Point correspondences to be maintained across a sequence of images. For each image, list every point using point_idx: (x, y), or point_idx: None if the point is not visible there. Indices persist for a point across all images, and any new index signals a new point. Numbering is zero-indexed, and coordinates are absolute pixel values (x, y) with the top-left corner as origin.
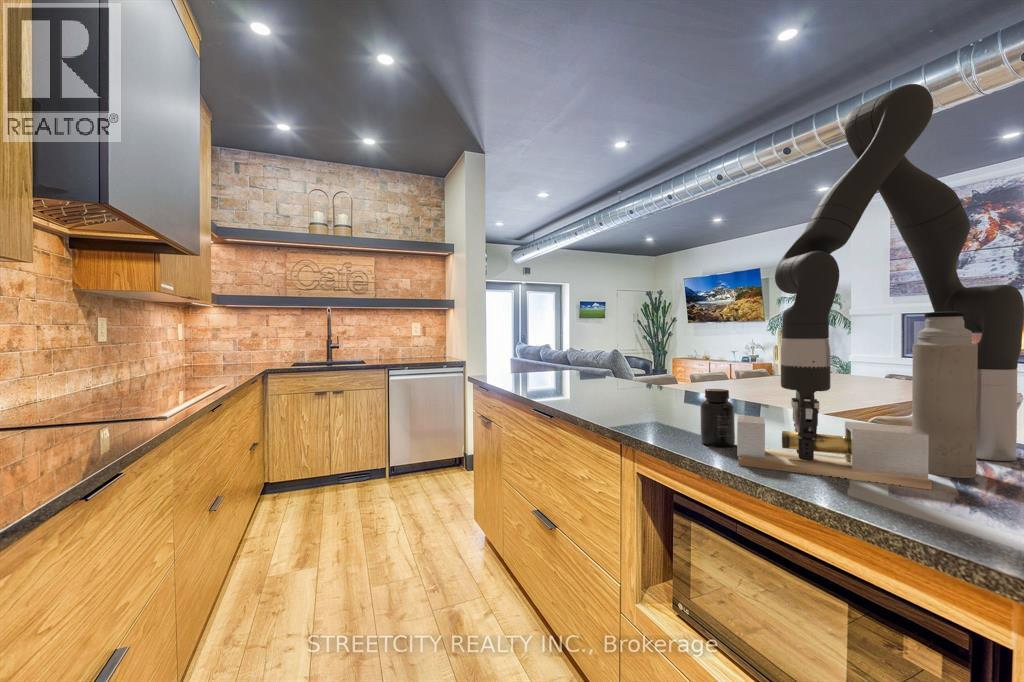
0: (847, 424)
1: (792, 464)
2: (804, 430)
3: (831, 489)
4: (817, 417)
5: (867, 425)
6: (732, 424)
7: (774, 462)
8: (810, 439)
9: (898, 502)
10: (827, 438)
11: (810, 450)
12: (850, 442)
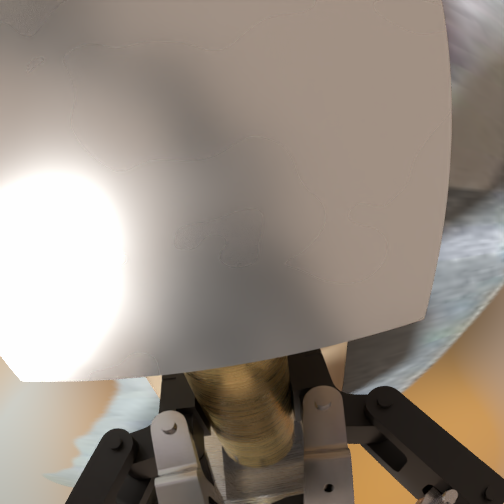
0: (142, 372)
1: (338, 345)
2: (196, 442)
3: (462, 225)
4: (486, 465)
5: (47, 192)
6: (152, 498)
7: (338, 376)
8: (345, 395)
9: (494, 78)
10: (270, 360)
11: (320, 353)
12: None
